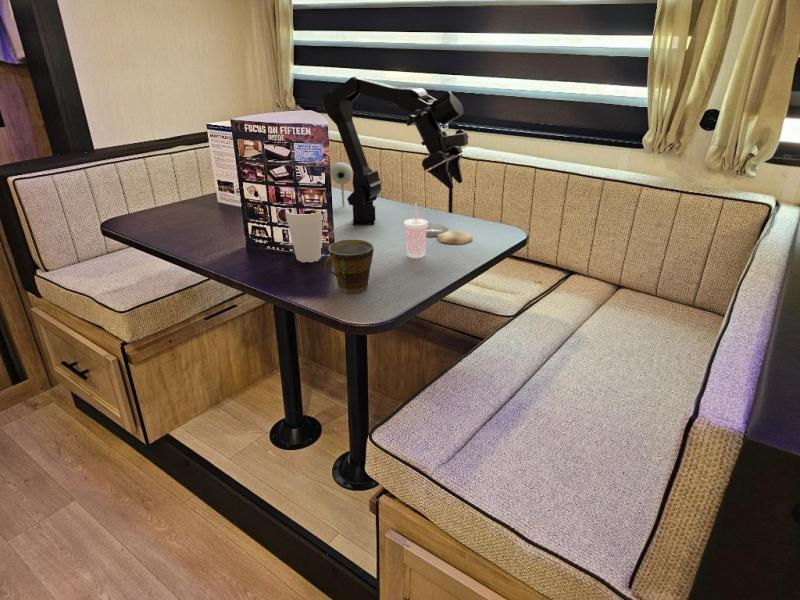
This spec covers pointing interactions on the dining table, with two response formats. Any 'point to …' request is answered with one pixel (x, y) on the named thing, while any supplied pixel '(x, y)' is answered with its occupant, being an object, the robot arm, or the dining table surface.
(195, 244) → the dining table surface
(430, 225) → the grey dome cap
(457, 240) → the shiny gold rounded object
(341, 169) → the lollipop
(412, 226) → the beverage cup
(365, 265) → the ceramic cup
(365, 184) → the robot arm
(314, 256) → the foam cup
